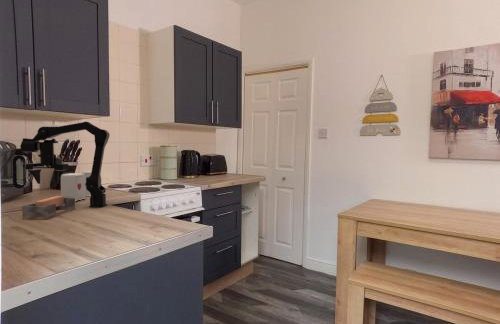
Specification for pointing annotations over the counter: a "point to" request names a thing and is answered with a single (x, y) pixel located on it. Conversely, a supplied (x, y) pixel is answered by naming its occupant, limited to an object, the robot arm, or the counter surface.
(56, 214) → the bracket stand
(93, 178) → the robot arm
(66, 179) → the supplement box
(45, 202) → the rail
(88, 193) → the skincare box
